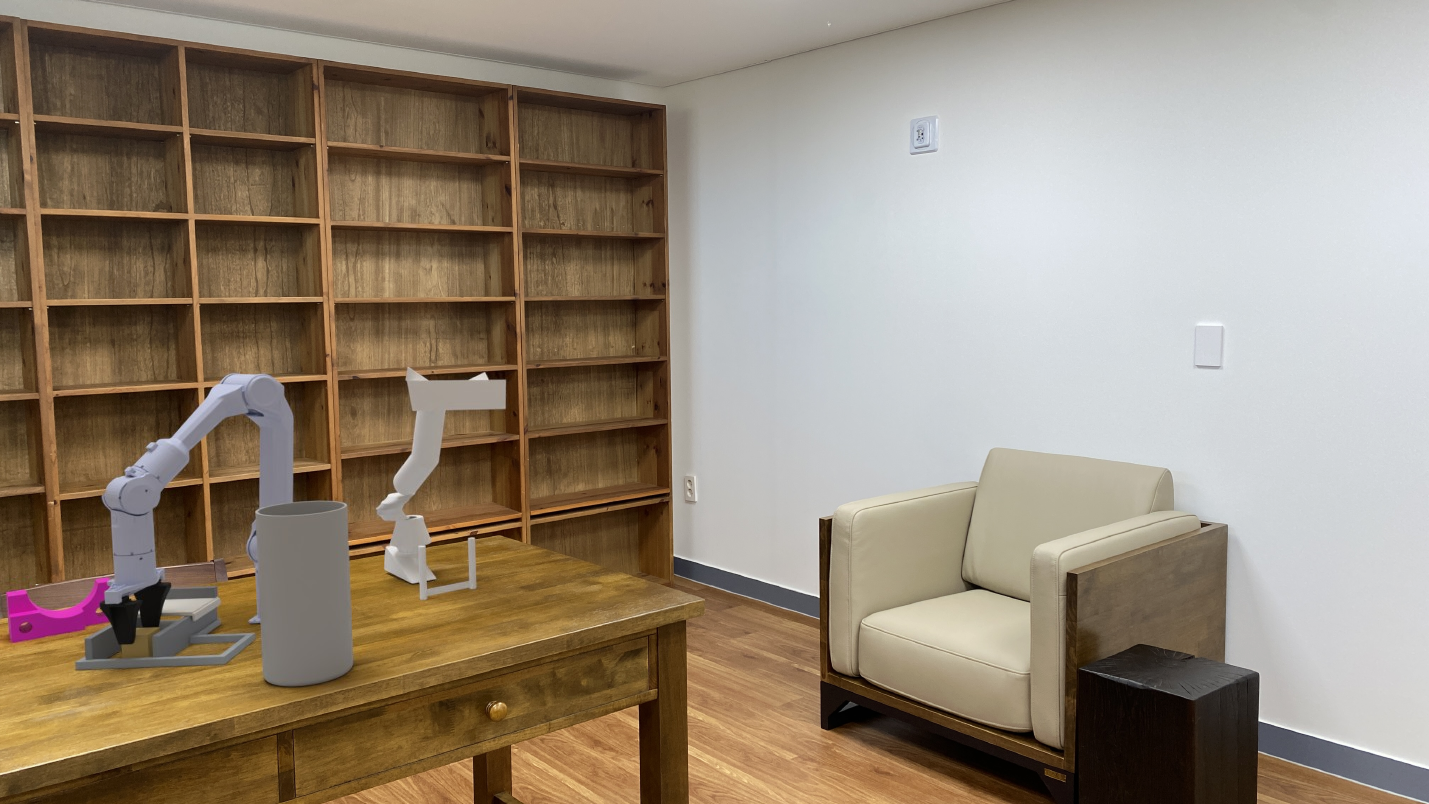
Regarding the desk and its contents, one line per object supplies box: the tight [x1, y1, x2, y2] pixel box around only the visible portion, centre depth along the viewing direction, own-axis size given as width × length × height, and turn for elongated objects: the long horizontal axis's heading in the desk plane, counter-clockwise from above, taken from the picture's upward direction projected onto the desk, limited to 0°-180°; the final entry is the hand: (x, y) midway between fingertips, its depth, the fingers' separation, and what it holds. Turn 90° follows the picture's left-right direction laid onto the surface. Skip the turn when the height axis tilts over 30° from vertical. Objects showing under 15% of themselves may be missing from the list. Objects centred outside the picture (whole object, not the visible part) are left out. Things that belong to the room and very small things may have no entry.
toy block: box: [5, 577, 111, 644], centre depth 169 cm, size 15×6×8 cm, turn 130°
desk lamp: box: [375, 366, 507, 601], centre depth 188 cm, size 38×18×45 cm, turn 42°
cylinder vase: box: [254, 500, 354, 687], centre depth 145 cm, size 12×12×25 cm
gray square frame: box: [74, 606, 256, 671], centre depth 160 cm, size 22×22×4 cm
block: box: [121, 627, 160, 658], centre depth 155 cm, size 4×4×4 cm
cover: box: [138, 585, 222, 621], centre depth 165 cm, size 12×10×3 cm
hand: (139, 636), depth 155 cm, fingers open, 7 cm apart
